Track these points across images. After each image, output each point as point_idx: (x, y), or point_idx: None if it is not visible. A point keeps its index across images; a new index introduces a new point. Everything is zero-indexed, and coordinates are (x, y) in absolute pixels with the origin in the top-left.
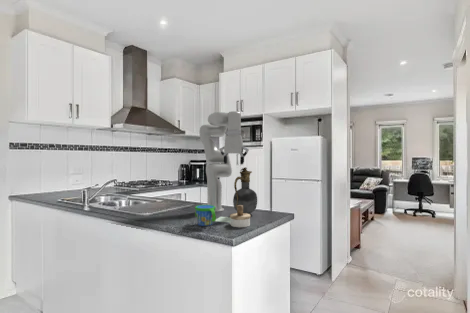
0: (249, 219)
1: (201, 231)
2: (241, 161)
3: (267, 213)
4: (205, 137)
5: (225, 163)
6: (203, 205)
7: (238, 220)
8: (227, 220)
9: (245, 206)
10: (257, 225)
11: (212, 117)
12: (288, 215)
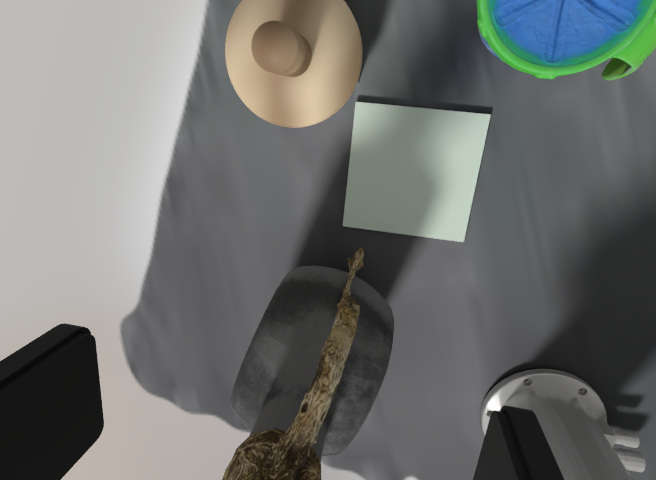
0: None
1: None
2: (20, 354)
3: (231, 374)
4: None
5: (499, 415)
6: (600, 47)
7: None
8: (401, 151)
9: (300, 267)
10: (218, 97)
11: None
12: (128, 344)
